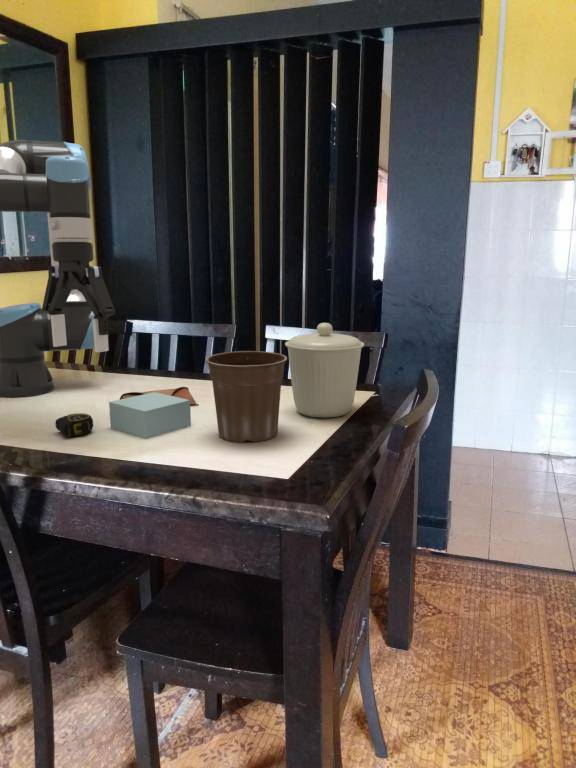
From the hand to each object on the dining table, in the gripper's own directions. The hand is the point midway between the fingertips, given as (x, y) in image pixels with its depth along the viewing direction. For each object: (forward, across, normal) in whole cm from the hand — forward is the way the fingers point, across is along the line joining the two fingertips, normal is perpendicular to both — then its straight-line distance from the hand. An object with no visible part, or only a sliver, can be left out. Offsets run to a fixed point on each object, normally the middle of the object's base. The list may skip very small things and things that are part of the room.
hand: (80, 348), depth 121 cm
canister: (+18, +32, +42) cm, 56 cm away
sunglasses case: (+18, -3, +24) cm, 30 cm away
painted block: (+18, +8, +10) cm, 22 cm away
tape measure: (+18, -1, -3) cm, 18 cm away
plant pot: (+18, +29, +18) cm, 38 cm away
